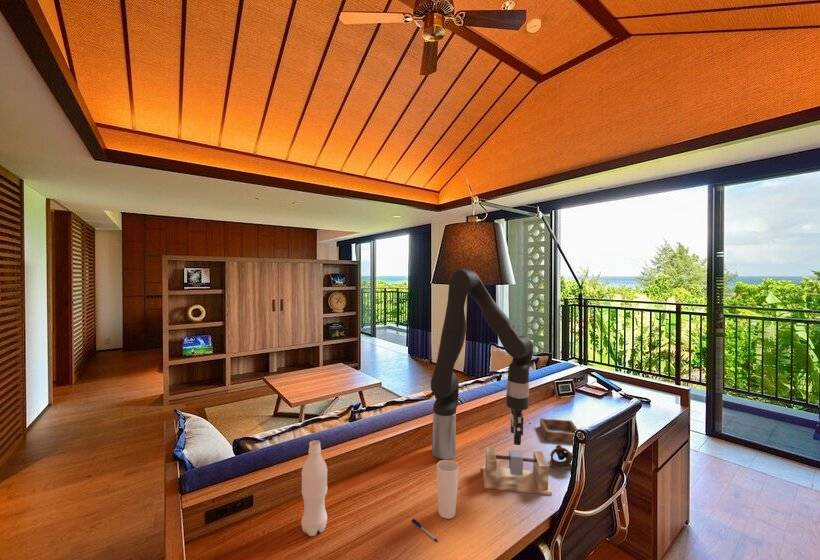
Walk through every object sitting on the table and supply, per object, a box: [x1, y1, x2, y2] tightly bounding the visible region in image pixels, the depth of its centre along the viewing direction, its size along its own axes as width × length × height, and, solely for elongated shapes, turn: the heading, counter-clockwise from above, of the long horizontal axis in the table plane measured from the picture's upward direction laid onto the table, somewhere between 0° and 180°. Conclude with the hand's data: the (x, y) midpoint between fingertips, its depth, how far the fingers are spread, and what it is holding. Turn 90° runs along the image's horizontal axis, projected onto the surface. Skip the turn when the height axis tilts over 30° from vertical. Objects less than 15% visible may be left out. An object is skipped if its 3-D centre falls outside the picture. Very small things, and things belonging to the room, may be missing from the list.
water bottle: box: [300, 439, 329, 537], centre depth 100 cm, size 7×7×25 cm
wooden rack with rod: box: [482, 446, 553, 496], centre depth 124 cm, size 22×12×9 cm, turn 81°
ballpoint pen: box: [411, 518, 439, 542], centre depth 100 cm, size 10×1×1 cm, turn 42°
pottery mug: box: [549, 444, 573, 470], centre depth 134 cm, size 12×10×8 cm
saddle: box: [508, 449, 524, 476], centre depth 124 cm, size 4×5×6 cm
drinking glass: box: [435, 459, 460, 520], centre depth 107 cm, size 7×7×15 cm
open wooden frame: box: [539, 418, 579, 444], centre depth 160 cm, size 14×14×4 cm
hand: (515, 438), depth 124 cm, fingers open, 8 cm apart
